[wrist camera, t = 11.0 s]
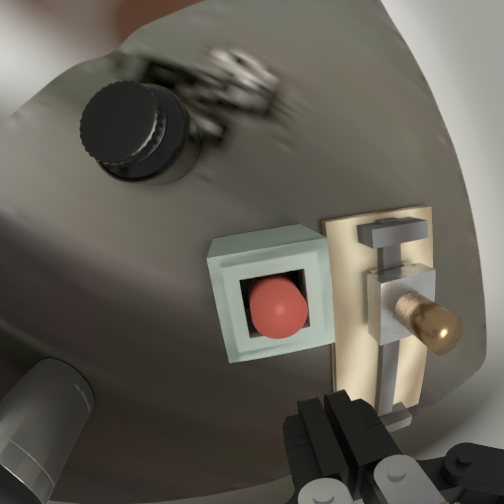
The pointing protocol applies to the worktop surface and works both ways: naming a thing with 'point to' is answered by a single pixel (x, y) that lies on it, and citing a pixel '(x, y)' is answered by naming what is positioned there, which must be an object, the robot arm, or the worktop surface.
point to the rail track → (356, 308)
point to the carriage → (409, 308)
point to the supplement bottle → (140, 133)
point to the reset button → (276, 306)
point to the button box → (266, 263)
